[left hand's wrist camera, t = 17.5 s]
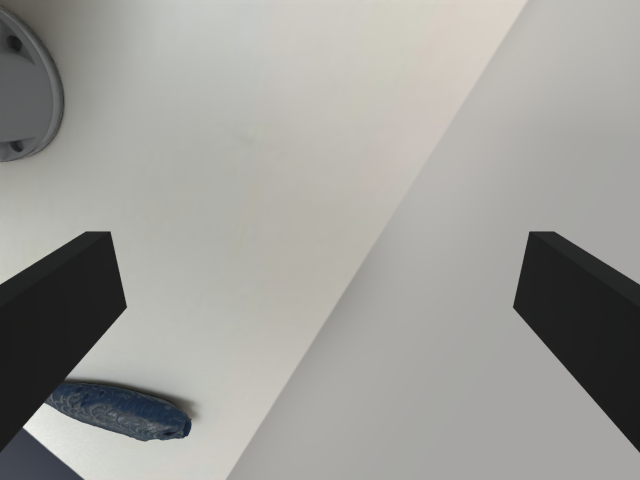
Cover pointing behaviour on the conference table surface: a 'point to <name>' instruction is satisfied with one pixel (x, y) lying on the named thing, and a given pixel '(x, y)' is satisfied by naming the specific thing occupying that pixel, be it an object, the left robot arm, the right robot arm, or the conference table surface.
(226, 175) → the conference table surface
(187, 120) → the conference table surface
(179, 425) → the fish model
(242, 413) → the conference table surface
